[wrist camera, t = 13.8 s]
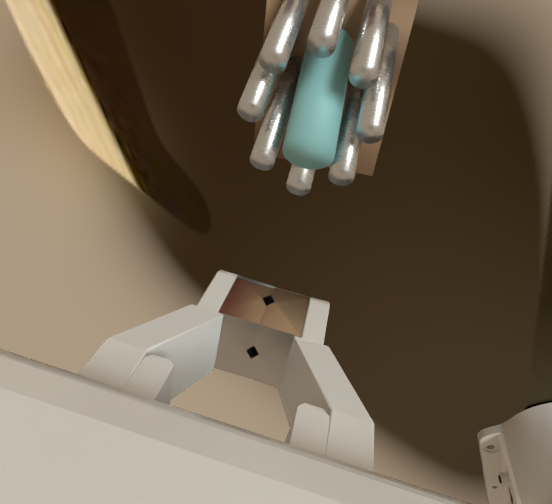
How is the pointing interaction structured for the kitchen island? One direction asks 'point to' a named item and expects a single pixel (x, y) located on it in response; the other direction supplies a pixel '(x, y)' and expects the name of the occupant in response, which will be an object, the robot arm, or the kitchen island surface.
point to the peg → (318, 107)
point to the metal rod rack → (276, 59)
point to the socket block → (400, 15)
